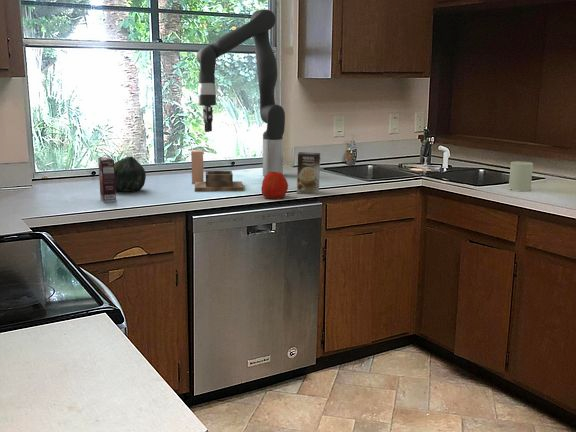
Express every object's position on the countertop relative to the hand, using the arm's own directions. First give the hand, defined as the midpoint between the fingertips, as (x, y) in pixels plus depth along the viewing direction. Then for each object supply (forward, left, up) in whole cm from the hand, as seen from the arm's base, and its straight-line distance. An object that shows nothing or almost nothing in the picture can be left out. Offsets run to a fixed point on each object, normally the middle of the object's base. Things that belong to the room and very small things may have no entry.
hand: (208, 131), depth 281 cm
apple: (-25, +41, -22) cm, 53 cm away
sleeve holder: (-4, +19, -22) cm, 29 cm away
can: (-132, +30, -22) cm, 137 cm away
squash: (+33, +23, -22) cm, 46 cm away
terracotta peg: (+5, +5, -22) cm, 23 cm away
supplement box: (+38, +43, -22) cm, 61 cm away
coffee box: (-40, +31, -22) cm, 55 cm away
